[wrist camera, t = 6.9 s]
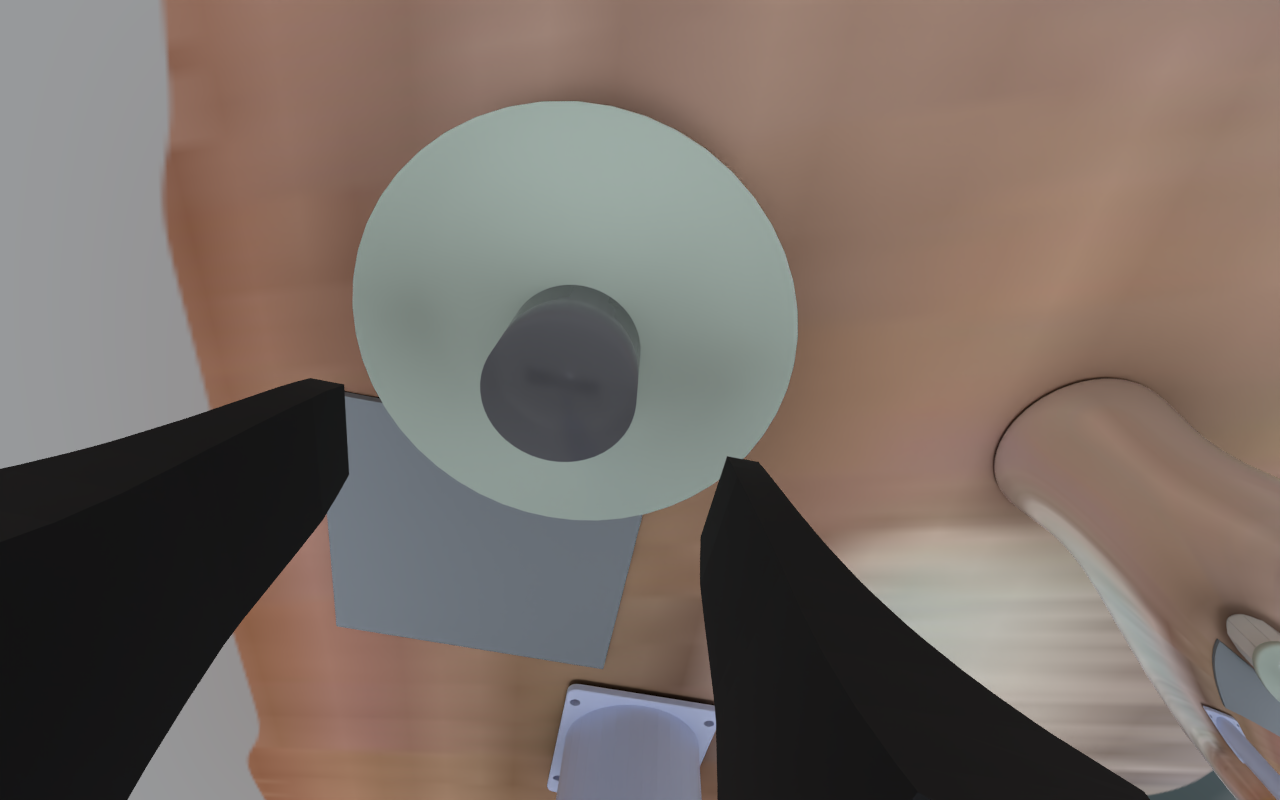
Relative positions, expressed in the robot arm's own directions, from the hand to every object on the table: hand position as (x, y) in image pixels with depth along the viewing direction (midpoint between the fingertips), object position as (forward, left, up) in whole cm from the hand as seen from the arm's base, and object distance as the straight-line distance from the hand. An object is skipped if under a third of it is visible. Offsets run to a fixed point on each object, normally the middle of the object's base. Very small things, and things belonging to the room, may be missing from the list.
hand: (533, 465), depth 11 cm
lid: (0, 0, -6) cm, 6 cm away
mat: (-12, +3, -10) cm, 16 cm away
